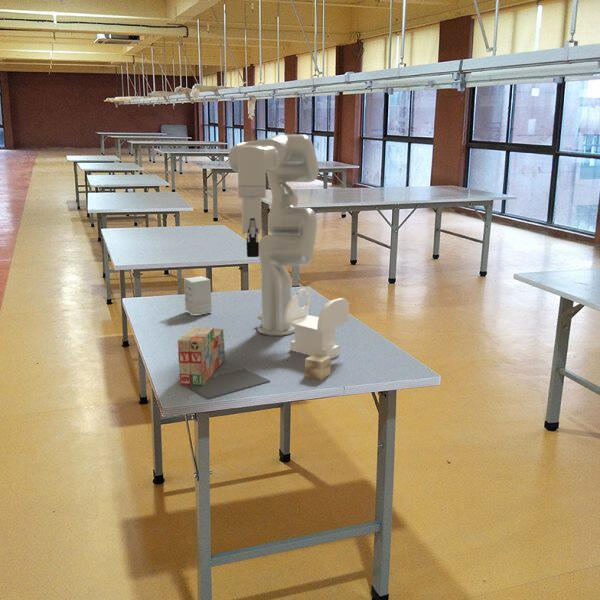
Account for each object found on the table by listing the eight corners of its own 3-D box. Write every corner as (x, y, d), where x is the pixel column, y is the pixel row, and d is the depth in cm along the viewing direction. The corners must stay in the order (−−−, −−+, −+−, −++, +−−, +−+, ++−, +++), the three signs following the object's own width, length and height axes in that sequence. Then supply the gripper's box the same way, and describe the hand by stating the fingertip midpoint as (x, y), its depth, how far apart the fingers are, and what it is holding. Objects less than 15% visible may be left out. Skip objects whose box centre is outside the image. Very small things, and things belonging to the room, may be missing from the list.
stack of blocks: (204, 358, 198) (202, 317, 195) (225, 359, 197) (223, 318, 194) (179, 384, 177) (177, 339, 174) (203, 386, 176) (200, 340, 173)
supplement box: (203, 309, 251) (202, 275, 248) (212, 313, 245) (211, 279, 242) (184, 312, 247) (183, 277, 244) (193, 316, 241) (191, 281, 238)
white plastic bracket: (284, 352, 203) (283, 293, 199) (311, 342, 213) (312, 285, 208) (320, 362, 194) (321, 301, 190) (348, 351, 204) (349, 293, 199)
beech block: (305, 376, 184) (305, 358, 183) (314, 370, 188) (314, 353, 187) (321, 380, 182) (321, 362, 180) (330, 374, 186) (330, 356, 185)
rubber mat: (183, 385, 178) (183, 384, 178) (244, 369, 189) (244, 368, 189) (207, 399, 169) (207, 398, 169) (270, 381, 180) (270, 380, 180)
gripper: (238, 190, 196) (239, 249, 199) (238, 194, 179) (239, 259, 183) (264, 190, 196) (264, 249, 200) (266, 194, 179) (267, 259, 183)
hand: (252, 254), depth 191 cm, fingers open, 9 cm apart
